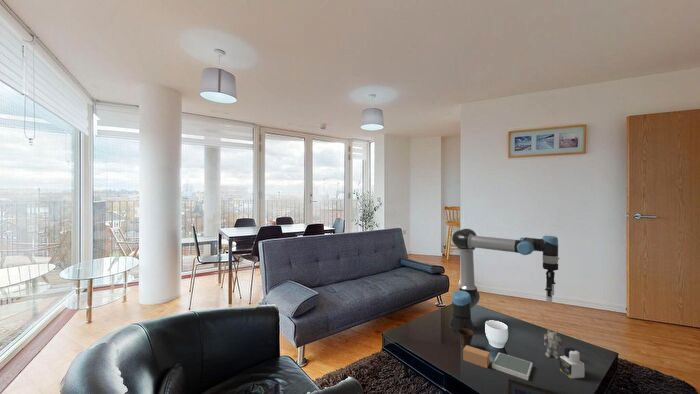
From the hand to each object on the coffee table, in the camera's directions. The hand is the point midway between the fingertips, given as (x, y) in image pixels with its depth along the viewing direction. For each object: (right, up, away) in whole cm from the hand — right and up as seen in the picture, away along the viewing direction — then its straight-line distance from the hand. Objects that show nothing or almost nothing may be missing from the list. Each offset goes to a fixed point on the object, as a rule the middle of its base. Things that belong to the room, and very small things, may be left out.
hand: (550, 298), depth 171 cm
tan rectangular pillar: (-50, -29, -15) cm, 60 cm away
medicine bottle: (-8, -28, -27) cm, 40 cm away
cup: (-50, -29, -1) cm, 58 cm away
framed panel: (-34, -28, -21) cm, 49 cm away
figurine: (-7, -28, -12) cm, 31 cm away
